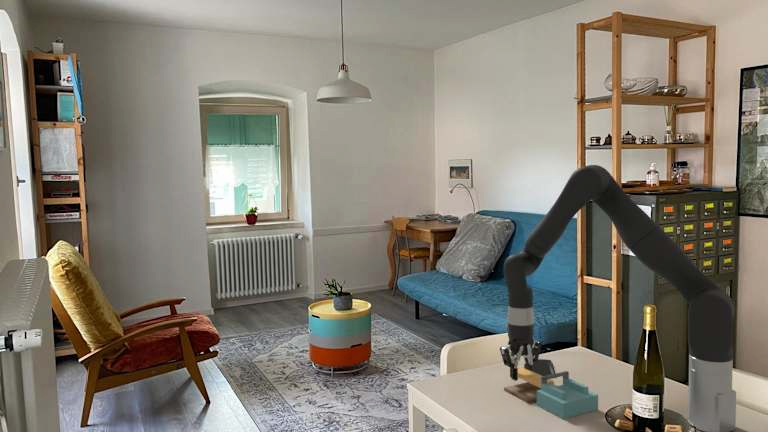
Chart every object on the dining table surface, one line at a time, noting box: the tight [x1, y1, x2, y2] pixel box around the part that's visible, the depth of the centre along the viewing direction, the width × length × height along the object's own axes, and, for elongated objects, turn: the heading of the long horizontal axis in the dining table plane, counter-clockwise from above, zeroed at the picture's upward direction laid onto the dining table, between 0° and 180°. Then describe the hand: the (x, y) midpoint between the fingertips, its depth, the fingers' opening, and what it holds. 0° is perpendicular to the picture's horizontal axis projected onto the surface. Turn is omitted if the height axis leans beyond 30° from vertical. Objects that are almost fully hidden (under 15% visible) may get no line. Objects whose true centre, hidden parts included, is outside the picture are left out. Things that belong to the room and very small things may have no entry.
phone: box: [532, 358, 556, 376], centre depth 187 cm, size 8×1×15 cm
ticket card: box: [517, 367, 555, 388], centre depth 169 cm, size 13×5×1 cm, turn 26°
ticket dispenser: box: [536, 370, 599, 420], centre depth 156 cm, size 10×12×8 cm
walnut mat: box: [503, 381, 557, 404], centre depth 168 cm, size 11×14×1 cm
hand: (521, 378), depth 173 cm, fingers closed on ticket card, 4 cm apart
